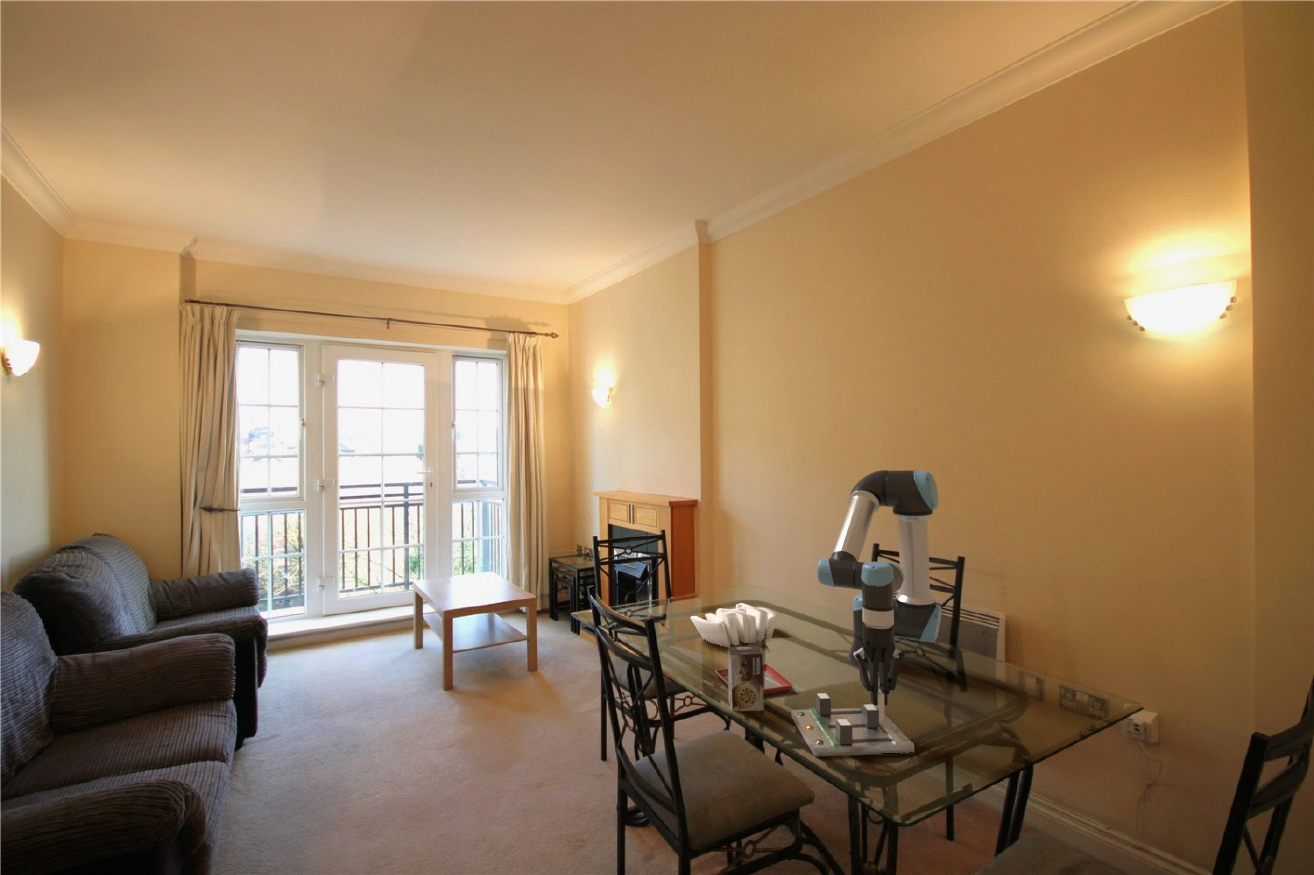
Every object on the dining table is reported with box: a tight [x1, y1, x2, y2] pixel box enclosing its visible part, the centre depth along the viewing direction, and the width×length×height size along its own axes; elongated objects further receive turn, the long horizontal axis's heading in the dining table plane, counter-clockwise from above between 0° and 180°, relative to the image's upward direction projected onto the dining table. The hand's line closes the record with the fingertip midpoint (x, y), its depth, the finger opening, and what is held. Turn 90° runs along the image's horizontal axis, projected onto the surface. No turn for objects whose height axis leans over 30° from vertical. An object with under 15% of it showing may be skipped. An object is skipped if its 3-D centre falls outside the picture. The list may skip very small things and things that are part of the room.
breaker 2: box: [836, 719, 853, 744], centre depth 142 cm, size 3×3×4 cm
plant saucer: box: [714, 663, 794, 695], centre depth 180 cm, size 18×18×3 cm
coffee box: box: [727, 645, 765, 712], centre depth 166 cm, size 9×6×16 cm
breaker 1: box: [815, 692, 832, 715], centre depth 157 cm, size 3×3×4 cm
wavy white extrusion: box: [689, 602, 778, 648], centre depth 226 cm, size 35×16×11 cm, turn 115°
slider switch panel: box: [790, 707, 915, 757], centre depth 150 cm, size 24×20×3 cm
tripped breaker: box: [861, 703, 879, 728], centre depth 150 cm, size 3×3×4 cm
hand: (879, 717), depth 150 cm, fingers closed
